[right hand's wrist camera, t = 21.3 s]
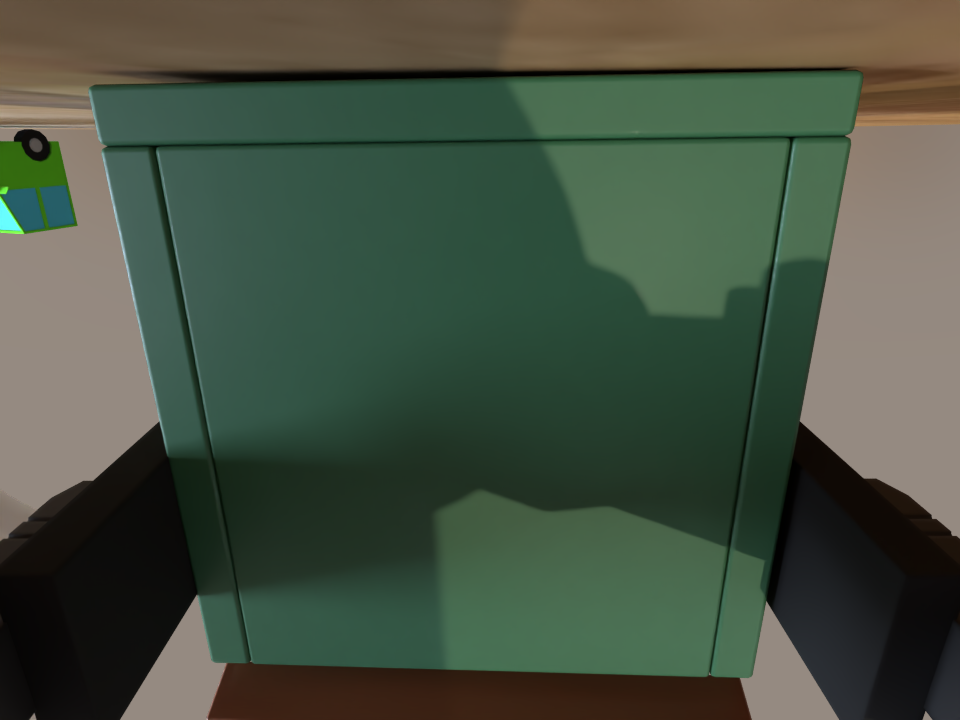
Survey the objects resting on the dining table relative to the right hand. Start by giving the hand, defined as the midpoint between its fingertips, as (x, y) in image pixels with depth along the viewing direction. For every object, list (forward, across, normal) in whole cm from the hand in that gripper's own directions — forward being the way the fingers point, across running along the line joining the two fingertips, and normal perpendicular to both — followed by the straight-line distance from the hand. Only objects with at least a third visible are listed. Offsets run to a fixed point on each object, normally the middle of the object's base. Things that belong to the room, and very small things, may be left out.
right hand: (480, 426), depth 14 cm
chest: (+4, 0, -7) cm, 8 cm away
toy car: (+51, +51, -7) cm, 72 cm away
